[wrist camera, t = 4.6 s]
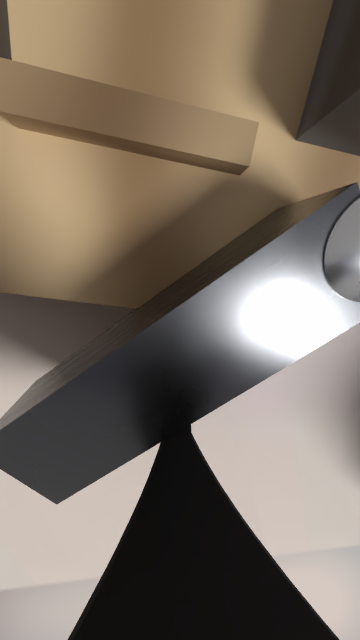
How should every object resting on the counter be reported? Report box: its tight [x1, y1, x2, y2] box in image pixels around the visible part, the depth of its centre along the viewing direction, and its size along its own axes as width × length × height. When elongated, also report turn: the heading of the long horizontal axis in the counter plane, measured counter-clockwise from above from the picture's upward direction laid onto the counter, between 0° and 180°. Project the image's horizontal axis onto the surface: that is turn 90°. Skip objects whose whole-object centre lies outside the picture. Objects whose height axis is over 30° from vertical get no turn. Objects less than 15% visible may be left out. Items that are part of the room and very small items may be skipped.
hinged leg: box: [0, 182, 360, 504], centre depth 7 cm, size 12×3×3 cm, turn 125°
